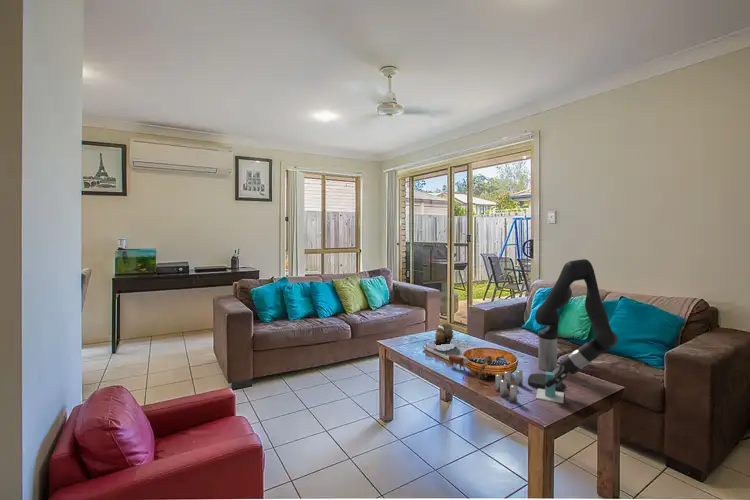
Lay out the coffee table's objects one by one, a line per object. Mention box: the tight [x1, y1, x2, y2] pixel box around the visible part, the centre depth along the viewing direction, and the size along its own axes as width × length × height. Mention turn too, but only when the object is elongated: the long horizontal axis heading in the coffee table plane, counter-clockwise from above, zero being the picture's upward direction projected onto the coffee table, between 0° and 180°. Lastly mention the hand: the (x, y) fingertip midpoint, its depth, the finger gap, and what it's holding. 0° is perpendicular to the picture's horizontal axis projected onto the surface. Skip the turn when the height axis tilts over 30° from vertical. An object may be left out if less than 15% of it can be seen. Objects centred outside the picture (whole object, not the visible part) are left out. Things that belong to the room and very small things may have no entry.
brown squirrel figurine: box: [433, 321, 454, 345], centre depth 243 cm, size 18×12×17 cm, turn 136°
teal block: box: [544, 371, 555, 398], centre depth 169 cm, size 4×4×10 cm
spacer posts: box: [495, 369, 524, 404], centre depth 175 cm, size 23×11×7 cm, turn 152°
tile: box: [535, 388, 565, 404], centre depth 170 cm, size 11×11×1 cm
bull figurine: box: [448, 353, 470, 371], centre depth 204 cm, size 4×13×8 cm, turn 38°
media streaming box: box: [527, 373, 563, 392], centre depth 183 cm, size 15×15×3 cm
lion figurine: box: [477, 354, 493, 380], centre depth 195 cm, size 15×5×9 cm, turn 150°
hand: (546, 382), depth 170 cm, fingers open, 8 cm apart
